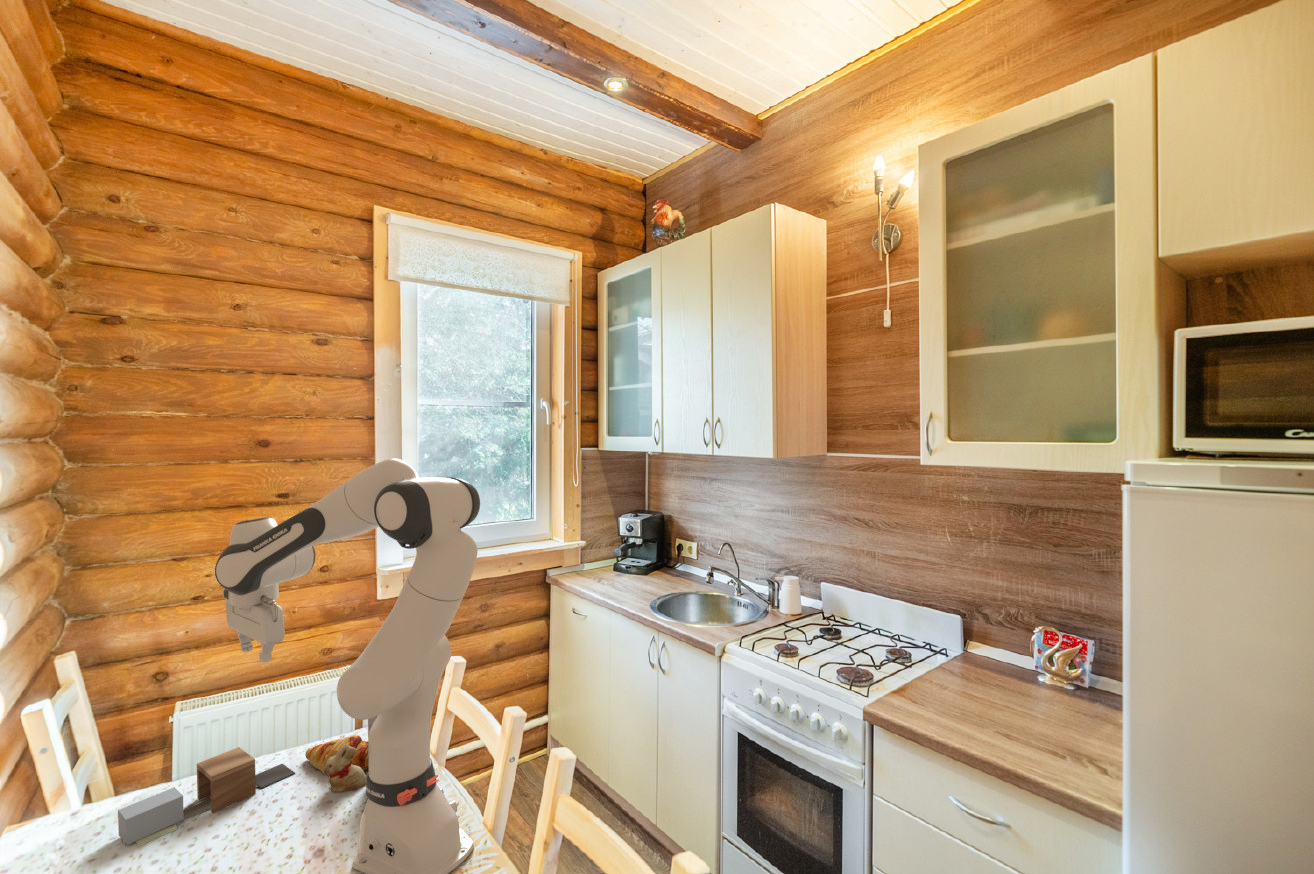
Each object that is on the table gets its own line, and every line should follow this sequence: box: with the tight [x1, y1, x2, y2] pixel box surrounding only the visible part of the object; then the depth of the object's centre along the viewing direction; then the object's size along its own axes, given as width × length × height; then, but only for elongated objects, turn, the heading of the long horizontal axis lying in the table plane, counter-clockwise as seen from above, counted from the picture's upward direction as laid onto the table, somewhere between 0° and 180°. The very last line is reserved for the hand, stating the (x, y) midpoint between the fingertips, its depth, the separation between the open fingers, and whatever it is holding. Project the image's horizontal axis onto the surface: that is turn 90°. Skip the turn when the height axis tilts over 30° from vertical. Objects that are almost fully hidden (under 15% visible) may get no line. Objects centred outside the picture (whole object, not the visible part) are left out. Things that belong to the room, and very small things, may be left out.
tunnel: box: [134, 746, 296, 847], centre depth 129 cm, size 8×28×8 cm, turn 145°
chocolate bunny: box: [325, 744, 367, 793], centre depth 134 cm, size 6×8×10 cm
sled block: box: [117, 787, 185, 846], centre depth 120 cm, size 5×9×5 cm, turn 145°
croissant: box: [305, 734, 368, 774], centre depth 143 cm, size 21×10×8 cm, turn 80°
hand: (255, 655), depth 130 cm, fingers open, 8 cm apart
